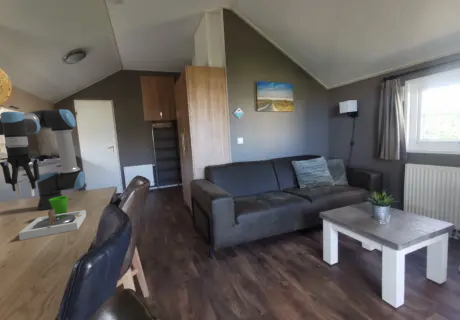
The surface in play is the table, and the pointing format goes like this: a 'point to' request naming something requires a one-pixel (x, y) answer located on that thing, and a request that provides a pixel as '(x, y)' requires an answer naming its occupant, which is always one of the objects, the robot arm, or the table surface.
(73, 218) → the dial
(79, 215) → the white square tray
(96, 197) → the table surface
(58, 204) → the cup
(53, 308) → the table surface
